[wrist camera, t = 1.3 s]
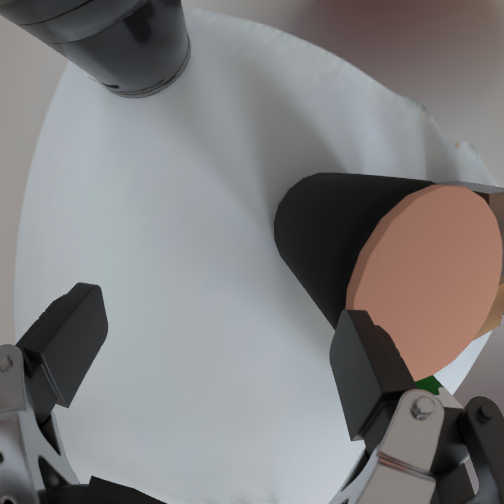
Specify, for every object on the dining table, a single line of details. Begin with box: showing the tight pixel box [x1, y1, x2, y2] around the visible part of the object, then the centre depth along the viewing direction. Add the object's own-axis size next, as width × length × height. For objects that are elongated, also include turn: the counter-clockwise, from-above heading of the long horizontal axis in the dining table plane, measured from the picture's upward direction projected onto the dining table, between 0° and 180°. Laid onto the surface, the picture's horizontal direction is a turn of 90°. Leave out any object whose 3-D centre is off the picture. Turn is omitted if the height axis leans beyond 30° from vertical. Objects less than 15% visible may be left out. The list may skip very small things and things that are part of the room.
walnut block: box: [436, 181, 504, 250], centre depth 26 cm, size 6×6×10 cm
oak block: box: [472, 276, 504, 341], centre depth 28 cm, size 6×6×10 cm
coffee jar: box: [274, 173, 502, 381], centre depth 20 cm, size 11×11×18 cm
